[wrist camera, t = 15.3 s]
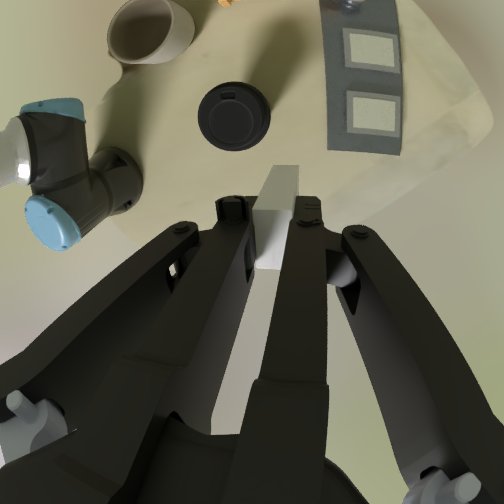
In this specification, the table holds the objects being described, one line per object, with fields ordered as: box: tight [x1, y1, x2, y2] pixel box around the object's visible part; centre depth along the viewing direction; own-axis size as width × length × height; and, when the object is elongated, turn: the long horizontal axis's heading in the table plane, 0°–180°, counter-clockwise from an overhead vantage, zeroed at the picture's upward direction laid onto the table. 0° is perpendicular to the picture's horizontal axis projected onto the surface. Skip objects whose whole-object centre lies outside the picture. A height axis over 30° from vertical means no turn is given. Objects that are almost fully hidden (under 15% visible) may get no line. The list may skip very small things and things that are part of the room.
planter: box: [107, 0, 195, 64], centre depth 32 cm, size 12×12×11 cm
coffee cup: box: [198, 82, 271, 151], centre depth 37 cm, size 9×9×15 cm
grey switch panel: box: [319, 0, 402, 156], centre depth 33 cm, size 13×30×5 cm, turn 4°
